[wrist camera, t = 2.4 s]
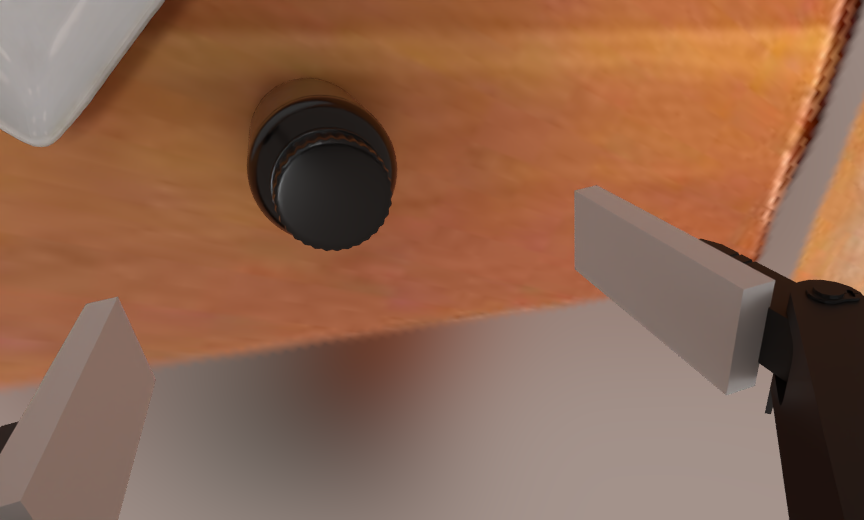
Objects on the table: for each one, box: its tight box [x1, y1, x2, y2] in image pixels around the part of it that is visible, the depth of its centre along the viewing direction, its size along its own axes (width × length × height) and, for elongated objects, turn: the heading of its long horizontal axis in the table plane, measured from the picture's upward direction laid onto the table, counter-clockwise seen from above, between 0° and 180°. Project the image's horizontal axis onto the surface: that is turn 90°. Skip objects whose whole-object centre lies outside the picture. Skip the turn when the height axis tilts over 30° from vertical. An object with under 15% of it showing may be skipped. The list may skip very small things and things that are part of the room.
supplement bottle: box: [247, 78, 397, 251], centre depth 27 cm, size 7×7×12 cm
